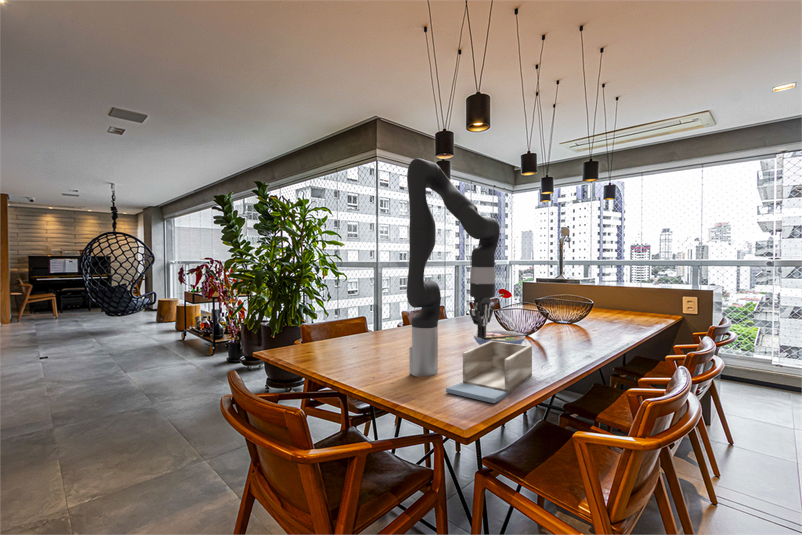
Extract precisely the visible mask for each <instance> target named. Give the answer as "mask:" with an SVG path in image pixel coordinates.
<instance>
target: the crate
mask: <svg viewBox="0 0 802 535" xmlns="http://www.w3.org/2000/svg"><path fill="white" fill-rule="evenodd" d="M532 376H533V346H532V345H526V344H521V345H520V344H512V343H505V342H497V341H489V342H486V343H484V344H482V345H479V344H478V346H475V347H472V348H470V349H467V350H466V351H464V352H462V383H466V384H471V385H476V386H480V387H485V388H490V389H495V390H500V391H504V392H508V394H507V395H509V394H510V393H511V392H513V391H514V390H516V388H517V387H519V386H520V385H521V384H523V383H524V382H526V380H528V379H529V378H530V377H532Z"/></svg>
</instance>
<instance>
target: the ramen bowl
mask: <svg viewBox="0 0 802 535" xmlns="http://www.w3.org/2000/svg"><path fill="white" fill-rule="evenodd" d="M472 336H473V339H474V340H475V342H476V343H477V345H478V346H479V345H482V344H484V343H486V342H489V341H497V342H505V343H512V344H520V345H523V342H524V341H525V339H526V336H532V334H529V333H528V334H523V333H521V332H516V331H511V330H503V329H502V330H500V329H499V330H498V329H497V330H496V329H491V330H487V329H486V337H485V338H478V336H477V331H475V332H473V333H472Z"/></svg>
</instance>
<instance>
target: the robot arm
mask: <svg viewBox="0 0 802 535" xmlns="http://www.w3.org/2000/svg"><path fill="white" fill-rule="evenodd" d="M406 172H407V174H406V177H407V181H406V182H407V190H408V205H409V210H408V211H409V225H408V226H409V227H408V228H409V231H408V232H409V233H408V236H409V237H408V239H409V240H408V242H409V252H408V253H409V254H408V256H409V258H408V263H409V264H408V270H407V271H408V273H407V280H406V281H407V282H406V298H407V302H408V305H409V306H410V307H412V308H414V309H415V308H416V309H417V308H418V309H419V308H421V310H420V311H419V312H418V314H416V315H415V316H413V317H412V318H411V346H410V347H409V349H408V350H409V351H408V352H409V355H408V356H409V359H408V360H409V375H412V376H414V377H416V378H420V377H424V376H425V377H429V376H435V375H437V374H438V373H439V343H438V342H439V328H438V327H439V326H438V325H439V319H440V317H441V298H442V297H441V296H442V295H441V288H440V287H439V286H440V285H439V284H438V283H437V282H436V281H435V280H424V279H425V269H426V264H427V263H428V261H429V259H430V257H431V254H432V253H433V251H434V249H435V247H436V246H435V245H436V239H437V238H436V237H437V236H436V234H437V233H436V228H437V227H436V222H435V219H434V215H433V214H432V211H431V209H430V206H429V204H428V201H427V200H428V199H427V189H430V190H431V191H433V192H435V193H436V194H438V196H440V198H441V199H442V201H443V204H444V206H445V208H446V209H447V210H448V212H449V213H450V214H451V215H452V216H454V217H455V218H456V220H458V221H459V222H460V225H461V226H462V227H463V230H464V231H465V232H466V233H467V235H468V236H470V237H471V238H472V239H475V240H479V241H478V245H477V247H475V248H473V250H472V251H471V260H470V261H471V265H470V266H471V268H470V274H469V278H470V280H469V296H470V297H471V298H473V299H474V300H473V303H472V304H473V305H472V306H473V307H472V308H470V309H469V310H468V311H469V315H470V318H471V321H472V323H473V324H474V325H476V326H477V331H476V332H477V336H478V338H485V337H486V330H487V326H488V323H491V319H492V316H493V313H494V309H495V305H491V304H492V303H491V302H492V301H491V299H493V298H495V296H496V268H495V266H496V265H495V264H496V258H495V257H496V256H495V255H496V254H495V253H496V251H497V247H498V243H499V238H500V234H501V233H500V232H501V231H500V225H499V222H498V221H497V220H496V218H494V217H491V216H490V217H488V216H482V215H481V214H480V213H478V207H477V205H476V204H475V203H474V202H472V200H470V199H469V198H468V197H467V196H466V195H464V194H463V193H462V192H461V190H459V189H458V188H457V187H456V186H455V185H454V184H453V183H452V181H451V180H450V179H449V177H448V176H447V175H446V174H445V172H444V171H443V169H441V167H440V166H439V165H438V164H437V163H436V162H433V161H430V160H426V159H423V158H414V159H413V160H412V161H410V162H409V165H408V166H407V171H406Z"/></svg>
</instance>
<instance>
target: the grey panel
mask: <svg viewBox="0 0 802 535" xmlns="http://www.w3.org/2000/svg"><path fill="white" fill-rule="evenodd" d="M445 393H448V394H453V395H457V396H460V397H466V398H469V399H474V400H478V401H483V402H486V403H487V402H488V403H491V404H495V403H498V402H499V401H501V400H502V399H504V398H505V397H506V396H508V395H509V394H508V392H504V391H500V390H495V389H490V388H485V387H480V386H476V385H471V384H466V383H463V382H459V383H456V384H454V385H451V386H448V387H446V388H445Z"/></svg>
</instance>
